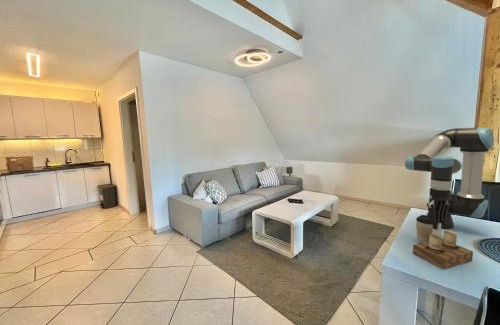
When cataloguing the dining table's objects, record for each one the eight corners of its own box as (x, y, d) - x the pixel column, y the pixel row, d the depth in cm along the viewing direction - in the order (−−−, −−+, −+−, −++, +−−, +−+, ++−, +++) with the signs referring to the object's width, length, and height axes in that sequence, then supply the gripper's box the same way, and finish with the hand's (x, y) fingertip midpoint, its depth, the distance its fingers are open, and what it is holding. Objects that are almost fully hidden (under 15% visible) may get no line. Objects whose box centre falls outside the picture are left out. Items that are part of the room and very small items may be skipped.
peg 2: (446, 251, 112) (448, 229, 110) (457, 256, 107) (459, 233, 106) (439, 252, 111) (441, 231, 109) (450, 257, 106) (452, 235, 104)
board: (439, 246, 117) (440, 238, 116) (472, 261, 104) (473, 251, 103) (412, 253, 112) (413, 244, 111) (442, 269, 98) (443, 259, 98)
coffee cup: (438, 246, 118) (440, 220, 116) (420, 245, 119) (422, 219, 117) (428, 238, 126) (430, 214, 124) (411, 237, 128) (413, 213, 126)
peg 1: (432, 254, 109) (434, 232, 108) (443, 259, 105) (445, 236, 103) (425, 256, 108) (427, 234, 106) (436, 261, 103) (438, 238, 102)
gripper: (441, 185, 107) (437, 229, 110) (421, 188, 103) (418, 233, 106) (459, 189, 100) (454, 236, 103) (439, 191, 96) (434, 240, 99)
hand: (436, 235), depth 105 cm, fingers closed
